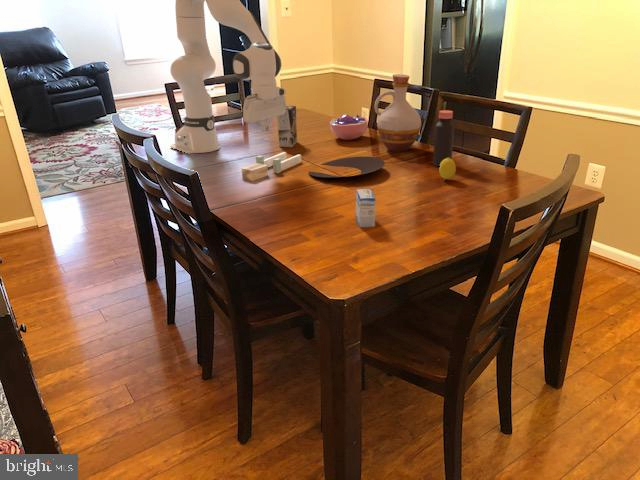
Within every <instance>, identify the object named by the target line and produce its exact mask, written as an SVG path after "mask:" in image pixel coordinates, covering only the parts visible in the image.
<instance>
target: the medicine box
mask: <svg viewBox="0 0 640 480" xmlns="http://www.w3.org/2000/svg"><path fill="white" fill-rule="evenodd" d="M376 203H377V202H376V197H375V195H374V194H373V190H372V189H371V188H360V189H356V191H355V218H356V221H357V224H358V226H359V228H375V226H376Z"/></svg>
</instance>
